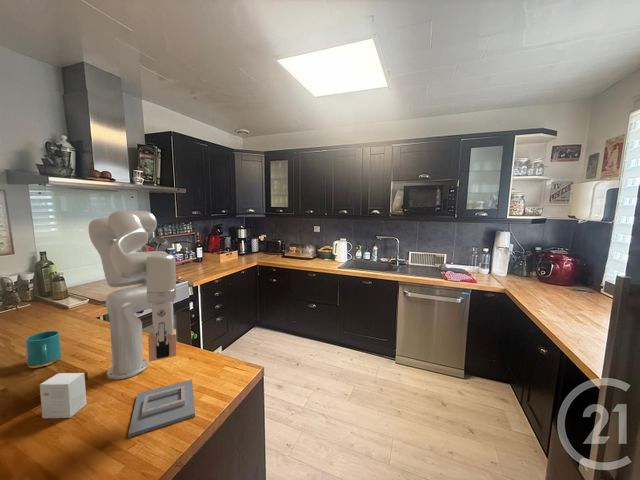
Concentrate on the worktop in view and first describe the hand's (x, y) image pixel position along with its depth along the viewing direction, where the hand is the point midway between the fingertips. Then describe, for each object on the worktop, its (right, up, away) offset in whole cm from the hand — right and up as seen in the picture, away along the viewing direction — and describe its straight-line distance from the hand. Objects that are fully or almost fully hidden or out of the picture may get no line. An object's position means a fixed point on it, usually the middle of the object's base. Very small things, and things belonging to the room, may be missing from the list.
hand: (163, 352), depth 78 cm
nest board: (0, -17, +1) cm, 17 cm away
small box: (-28, -17, -2) cm, 33 cm away
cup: (-60, -14, +22) cm, 65 cm away
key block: (0, -1, 0) cm, 1 cm away
